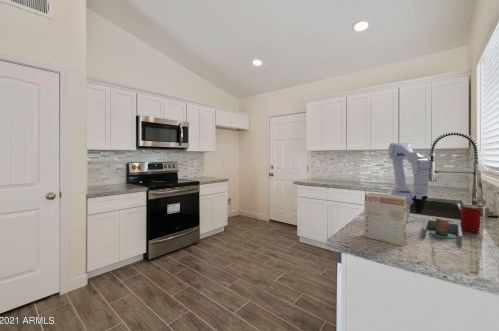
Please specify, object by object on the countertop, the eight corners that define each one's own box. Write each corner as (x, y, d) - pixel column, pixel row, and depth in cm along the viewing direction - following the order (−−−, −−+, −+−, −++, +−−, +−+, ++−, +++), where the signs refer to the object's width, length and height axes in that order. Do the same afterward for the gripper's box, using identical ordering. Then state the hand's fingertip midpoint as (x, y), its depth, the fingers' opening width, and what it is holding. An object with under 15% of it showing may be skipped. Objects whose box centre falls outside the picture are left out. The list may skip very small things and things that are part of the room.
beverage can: (479, 230, 113) (480, 206, 112) (479, 234, 108) (481, 208, 107) (460, 227, 117) (461, 204, 116) (460, 230, 112) (461, 206, 112)
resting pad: (430, 230, 112) (430, 230, 112) (454, 235, 107) (454, 234, 107) (428, 235, 106) (428, 234, 106) (455, 240, 100) (455, 239, 100)
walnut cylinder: (434, 232, 109) (434, 217, 109) (445, 233, 107) (446, 218, 107) (437, 235, 105) (437, 220, 105) (449, 236, 103) (450, 221, 103)
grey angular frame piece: (425, 227, 118) (426, 219, 118) (460, 232, 109) (460, 224, 109) (422, 237, 103) (422, 229, 103) (461, 245, 94) (462, 236, 94)
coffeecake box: (406, 241, 99) (407, 196, 97) (402, 246, 94) (404, 198, 92) (368, 232, 109) (369, 192, 108) (363, 236, 104) (364, 194, 103)
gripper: (412, 181, 120) (410, 207, 121) (409, 184, 109) (407, 212, 110) (429, 182, 116) (427, 209, 116) (427, 186, 104) (426, 215, 105)
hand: (419, 211), depth 113 cm, fingers open, 7 cm apart
